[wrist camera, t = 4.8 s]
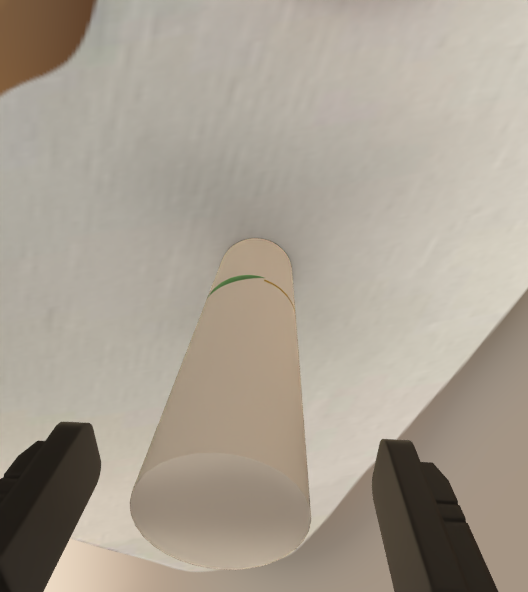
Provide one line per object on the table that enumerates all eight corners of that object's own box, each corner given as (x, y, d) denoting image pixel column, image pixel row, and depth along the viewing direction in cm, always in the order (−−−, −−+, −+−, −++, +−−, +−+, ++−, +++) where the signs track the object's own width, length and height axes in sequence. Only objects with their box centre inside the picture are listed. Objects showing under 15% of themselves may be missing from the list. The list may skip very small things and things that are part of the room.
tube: (303, 254, 22) (343, 487, 8) (275, 314, 24) (270, 585, 10) (234, 227, 21) (154, 428, 8) (210, 290, 23) (113, 544, 10)
